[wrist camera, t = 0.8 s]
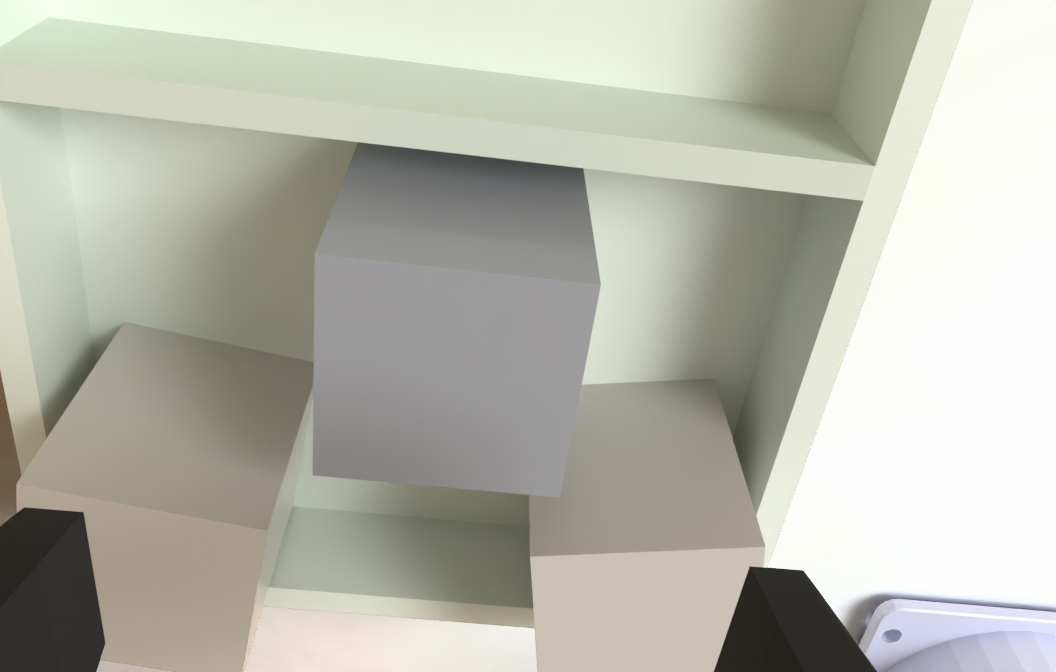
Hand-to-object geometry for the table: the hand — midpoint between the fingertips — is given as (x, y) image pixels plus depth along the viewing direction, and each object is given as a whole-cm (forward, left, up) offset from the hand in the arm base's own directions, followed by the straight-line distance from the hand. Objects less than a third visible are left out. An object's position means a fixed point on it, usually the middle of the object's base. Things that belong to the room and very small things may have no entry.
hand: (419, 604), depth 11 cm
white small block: (-5, -4, -9) cm, 11 cm away
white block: (-5, +5, -9) cm, 12 cm away
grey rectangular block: (0, 0, -9) cm, 9 cm away
